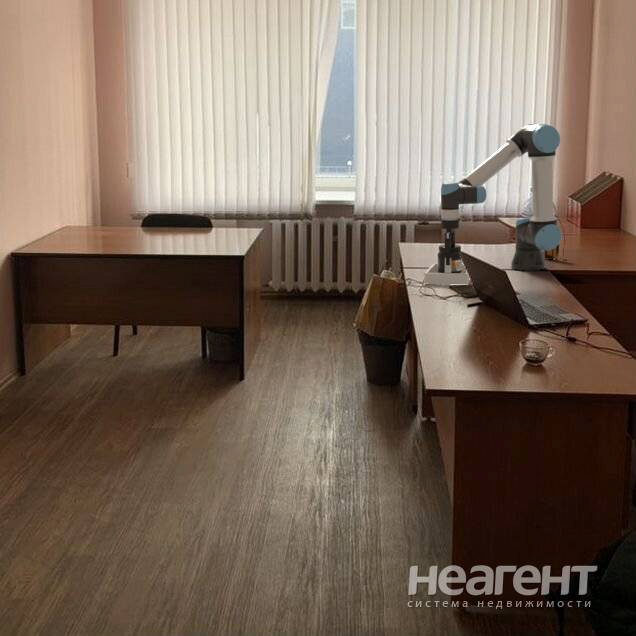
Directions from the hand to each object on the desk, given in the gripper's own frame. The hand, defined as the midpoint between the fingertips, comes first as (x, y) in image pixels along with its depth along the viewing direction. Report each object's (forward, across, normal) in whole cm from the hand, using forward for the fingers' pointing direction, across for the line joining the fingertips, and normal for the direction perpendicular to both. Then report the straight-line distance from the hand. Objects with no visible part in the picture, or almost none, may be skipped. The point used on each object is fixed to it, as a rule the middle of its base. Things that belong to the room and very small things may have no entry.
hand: (449, 270), depth 434 cm
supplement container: (+2, 0, 0) cm, 2 cm away
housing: (+4, 0, 0) cm, 4 cm away
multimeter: (+5, -62, +42) cm, 75 cm away
